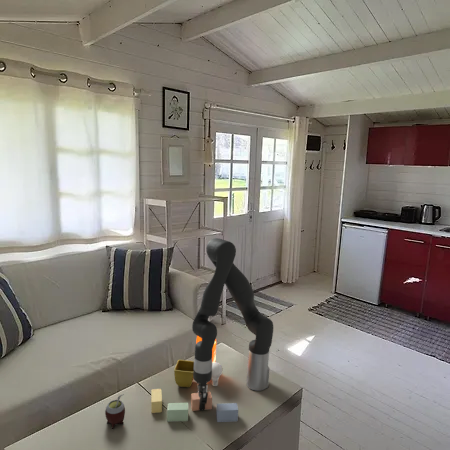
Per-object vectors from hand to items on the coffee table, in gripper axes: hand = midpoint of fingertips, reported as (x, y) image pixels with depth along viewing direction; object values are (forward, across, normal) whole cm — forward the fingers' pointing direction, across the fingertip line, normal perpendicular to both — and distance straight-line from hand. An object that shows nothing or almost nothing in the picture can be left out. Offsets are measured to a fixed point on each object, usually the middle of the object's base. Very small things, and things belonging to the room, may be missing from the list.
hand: (201, 405), depth 144 cm
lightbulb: (+1, +13, -8) cm, 15 cm away
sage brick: (0, -5, +10) cm, 11 cm away
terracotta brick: (0, 0, 0) cm, 0 cm away
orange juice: (+1, +23, -5) cm, 24 cm away
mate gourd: (+1, -5, +33) cm, 33 cm away
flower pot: (+1, +16, +5) cm, 17 cm away
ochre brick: (0, +3, +18) cm, 18 cm away
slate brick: (0, -8, -9) cm, 12 cm away
